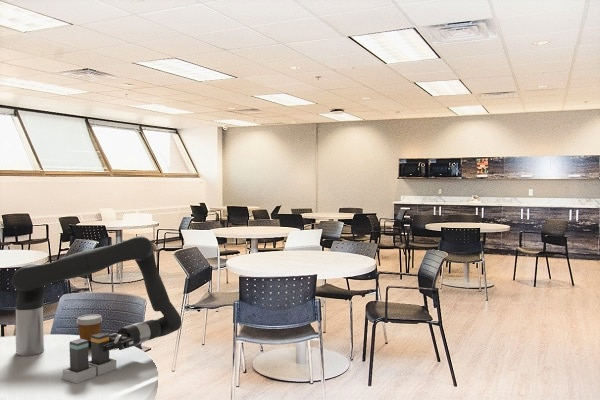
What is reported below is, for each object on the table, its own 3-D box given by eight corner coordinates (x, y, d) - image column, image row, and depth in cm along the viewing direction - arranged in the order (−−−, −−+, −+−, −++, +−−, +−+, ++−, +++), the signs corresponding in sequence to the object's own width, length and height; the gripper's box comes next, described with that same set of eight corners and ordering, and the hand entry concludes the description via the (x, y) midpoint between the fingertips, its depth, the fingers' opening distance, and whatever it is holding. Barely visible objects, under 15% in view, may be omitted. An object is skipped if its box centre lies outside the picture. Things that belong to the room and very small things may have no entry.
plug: (91, 370, 179) (90, 335, 179) (101, 367, 183) (101, 332, 182) (99, 373, 177) (98, 337, 177) (109, 369, 181) (108, 334, 180)
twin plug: (70, 378, 173) (69, 341, 172) (81, 374, 176) (80, 338, 176) (77, 380, 170) (77, 343, 170) (89, 376, 174) (88, 340, 173)
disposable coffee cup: (94, 351, 203) (93, 320, 203) (71, 350, 205) (71, 319, 204) (107, 344, 212) (107, 314, 212) (86, 342, 214) (85, 313, 214)
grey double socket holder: (61, 382, 172) (60, 369, 172) (103, 367, 186) (103, 355, 185) (76, 387, 168) (75, 374, 168) (118, 372, 181) (118, 360, 181)
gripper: (121, 321, 195) (81, 332, 182) (147, 327, 188) (108, 338, 174) (121, 341, 196) (82, 354, 182) (147, 348, 188) (109, 361, 174)
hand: (95, 346), depth 178 cm, fingers open, 8 cm apart
